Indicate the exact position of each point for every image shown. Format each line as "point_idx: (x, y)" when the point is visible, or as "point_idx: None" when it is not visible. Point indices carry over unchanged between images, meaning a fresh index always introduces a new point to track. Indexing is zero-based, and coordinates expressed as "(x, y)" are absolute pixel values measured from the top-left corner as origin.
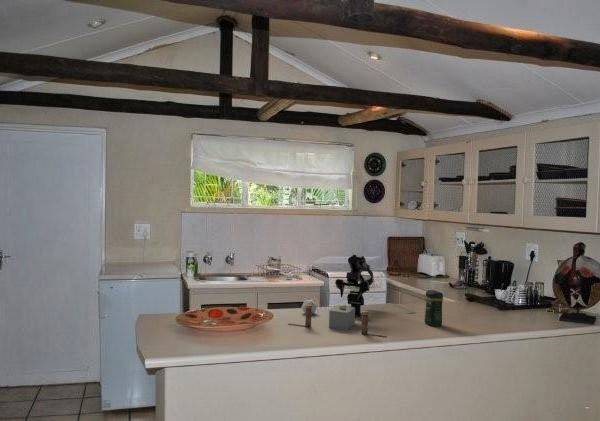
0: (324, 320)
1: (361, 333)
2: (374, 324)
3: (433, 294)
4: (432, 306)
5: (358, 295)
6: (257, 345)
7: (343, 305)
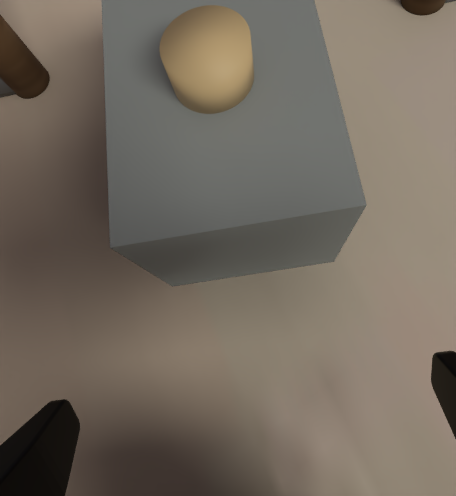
0: (446, 227)
1: (47, 72)
2: (21, 365)
3: None
4: None
5: (1, 447)
6: None
7: (187, 35)
